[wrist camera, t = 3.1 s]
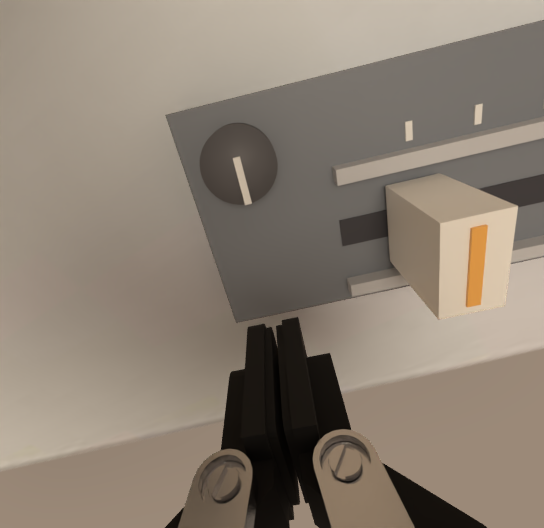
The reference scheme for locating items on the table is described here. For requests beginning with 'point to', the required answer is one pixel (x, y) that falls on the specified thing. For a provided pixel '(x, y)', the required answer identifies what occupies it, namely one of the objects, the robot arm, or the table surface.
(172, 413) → the table surface
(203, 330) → the table surface
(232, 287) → the console
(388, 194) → the fader
